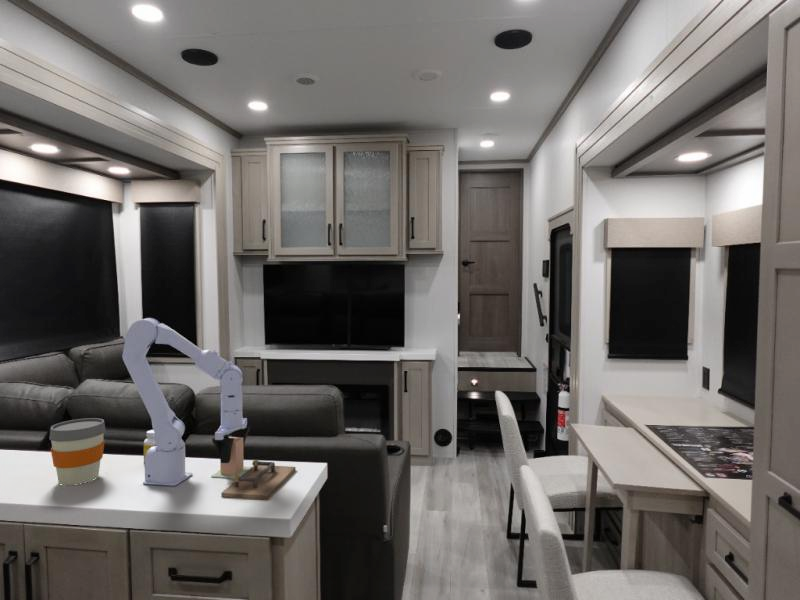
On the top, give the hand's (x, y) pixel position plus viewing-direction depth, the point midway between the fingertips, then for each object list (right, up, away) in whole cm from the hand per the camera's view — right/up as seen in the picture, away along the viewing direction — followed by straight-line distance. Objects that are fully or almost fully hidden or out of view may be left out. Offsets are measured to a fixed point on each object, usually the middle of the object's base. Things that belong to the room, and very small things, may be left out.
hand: (232, 457), depth 133 cm
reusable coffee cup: (-40, -5, -4) cm, 41 cm away
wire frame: (+10, -4, -7) cm, 13 cm away
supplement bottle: (-25, -4, +7) cm, 27 cm away
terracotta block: (0, -4, 0) cm, 4 cm away
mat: (0, -4, 0) cm, 4 cm away
